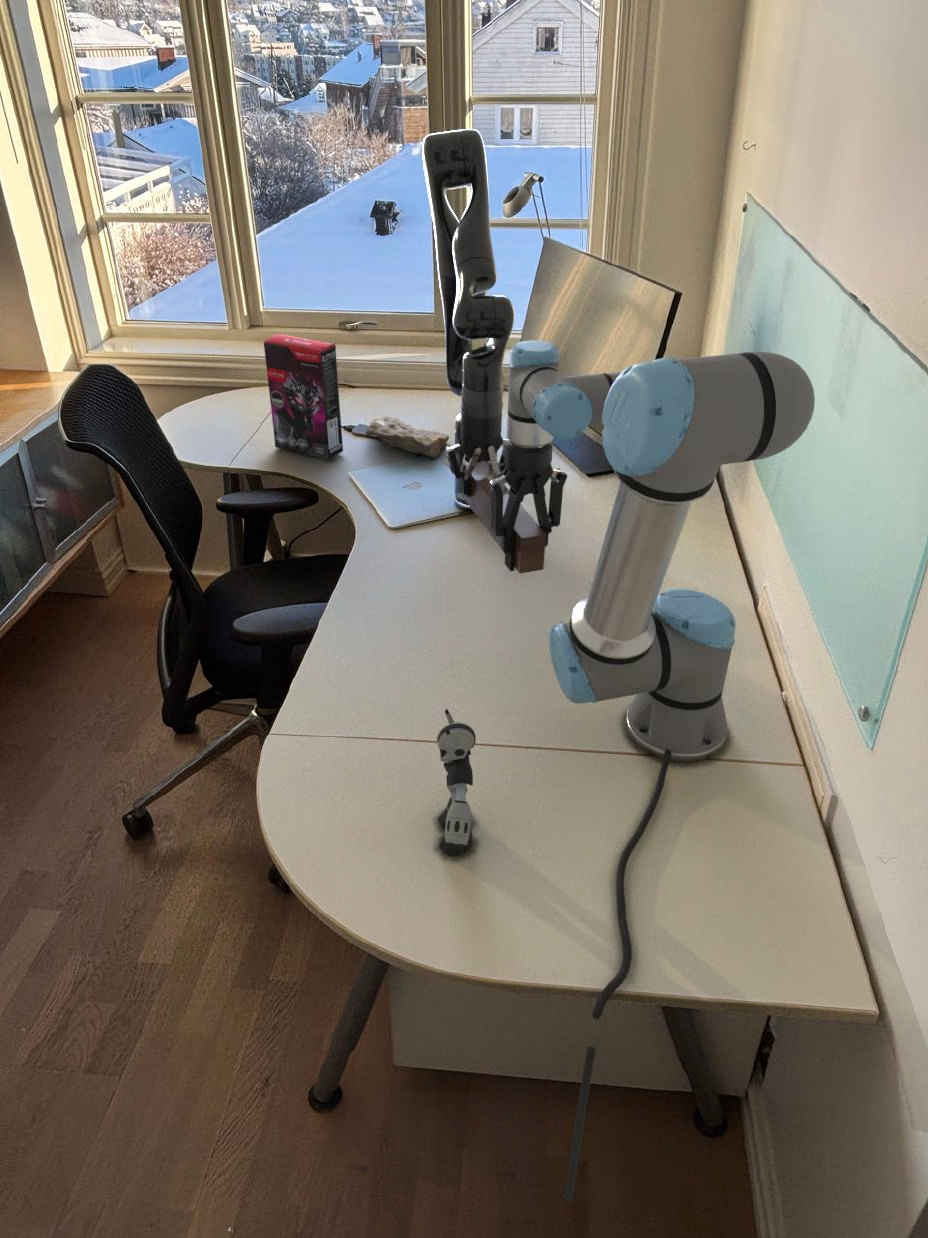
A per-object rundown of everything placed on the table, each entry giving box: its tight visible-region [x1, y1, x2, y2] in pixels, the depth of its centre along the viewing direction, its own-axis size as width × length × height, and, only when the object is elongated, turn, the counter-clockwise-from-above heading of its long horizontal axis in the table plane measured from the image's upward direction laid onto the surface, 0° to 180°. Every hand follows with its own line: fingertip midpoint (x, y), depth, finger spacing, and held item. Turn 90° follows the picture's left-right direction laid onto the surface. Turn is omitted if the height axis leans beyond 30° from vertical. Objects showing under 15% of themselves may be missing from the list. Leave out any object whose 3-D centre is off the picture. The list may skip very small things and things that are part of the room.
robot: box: [436, 708, 477, 857], centre depth 119 cm, size 20×5×20 cm, turn 3°
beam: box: [462, 461, 546, 575], centre depth 168 cm, size 30×4×7 cm, turn 19°
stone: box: [365, 416, 450, 458], centre depth 231 cm, size 21×15×6 cm
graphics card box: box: [263, 333, 344, 460], centre depth 223 cm, size 17×7×27 cm, turn 62°
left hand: (479, 492), depth 177 cm, fingers closed on beam, 4 cm apart
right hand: (523, 564), depth 162 cm, fingers closed on beam, 4 cm apart
